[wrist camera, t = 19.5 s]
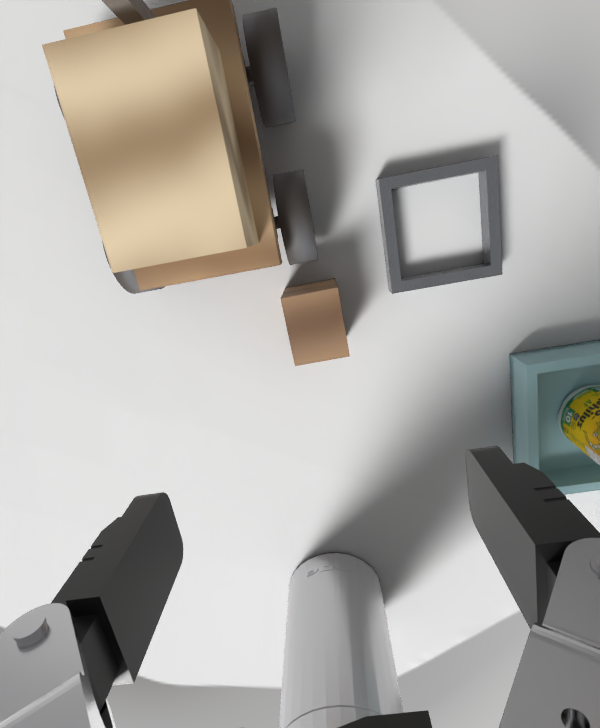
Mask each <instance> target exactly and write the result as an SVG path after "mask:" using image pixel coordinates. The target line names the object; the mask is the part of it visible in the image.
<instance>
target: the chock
mask: <svg viewBox="0 0 600 728" xmlns="http://www.w3.org/2000/svg"><path fill="white" fill-rule="evenodd" d="M281 302H282V307H283V312H284V316H285V321H286V326H287V330H288V335H289V340H290V345H291V349H292V354H293V359H294V363H295V366H298V365H304V364H309V363H315V362H320V361H326V360H331V359H337V358H343V357H348V356H350V355H349V349H348V344H347V338H346V332H345V326H344V320H343V314H342V309H341V303H340V297H339V291H338V286H337V283H336V281H335V278H334V279H329V280H324V281H319V282H314V283H309V284H304V285H299V286H294V287H289V288H285V290H284V292H283V295H282V297H281Z"/></svg>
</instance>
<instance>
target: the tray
mask: <svg viewBox="0 0 600 728" xmlns="http://www.w3.org/2000/svg"><path fill="white" fill-rule="evenodd" d="M510 379H511V406H512V433H513V459H514V464H516V463H523V462H524V463H526V464H528V465H530V466H532V467H534V468H536V469H538V470H540V471H541V472H543V473H544V474H545V475H546V476H547V477H548V478H549V479H550V480H551V481H552V482H553V483H554V484H555V486H556V488H558V489H559V490H560V491H561V492H562V493H563V494H564V495H565V494H573V493H581V492H588V491H596V490H600V465H599V464H597V463H596V462H595V461H594V460H593V459H592V458H590V457H589V456H588V455H587V454H585V453H584V452H583V451H582V450H581V449H579V448H578V447H577V446H576V445H575V444H574V443H572V442H571V441H570V440H569V439H568V438H567V437H565V436H564V434H563V433H562V432H561V430H560V428H559V425H558V414H559V410H560V408H561V405H562V403H563V402H564V400H565V399H566V398H567V397H568V396H569V395H570V394H571V393H572V392H574V391H575V390H577V389H579V388H581V387H584V386H588V385H600V340H595V341H588V342H582V343H576V344H569V345H563V346H557V347H551V348H544V349H538V350H532V351H525V352H519V353H513V354H510Z"/></svg>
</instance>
